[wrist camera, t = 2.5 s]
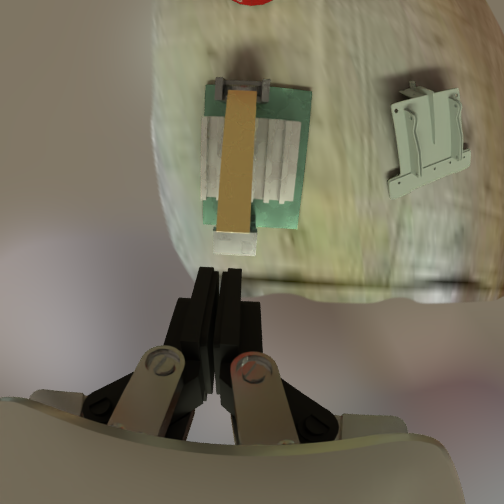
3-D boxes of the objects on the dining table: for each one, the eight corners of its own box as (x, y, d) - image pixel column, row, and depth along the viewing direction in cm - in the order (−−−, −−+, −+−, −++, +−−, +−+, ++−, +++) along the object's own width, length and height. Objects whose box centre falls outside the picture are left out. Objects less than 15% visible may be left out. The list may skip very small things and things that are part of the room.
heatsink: (206, 85, 24) (192, 77, 18) (310, 92, 25) (330, 86, 18) (204, 222, 32) (192, 252, 26) (296, 226, 32) (307, 258, 26)
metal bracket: (383, 106, 20) (477, 84, 17) (355, 93, 24) (446, 71, 21) (397, 214, 30) (476, 179, 27) (376, 189, 34) (452, 159, 31)
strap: (225, 88, 20) (225, 82, 19) (260, 89, 21) (260, 83, 20) (213, 232, 20) (211, 230, 19) (253, 234, 20) (253, 233, 19)
